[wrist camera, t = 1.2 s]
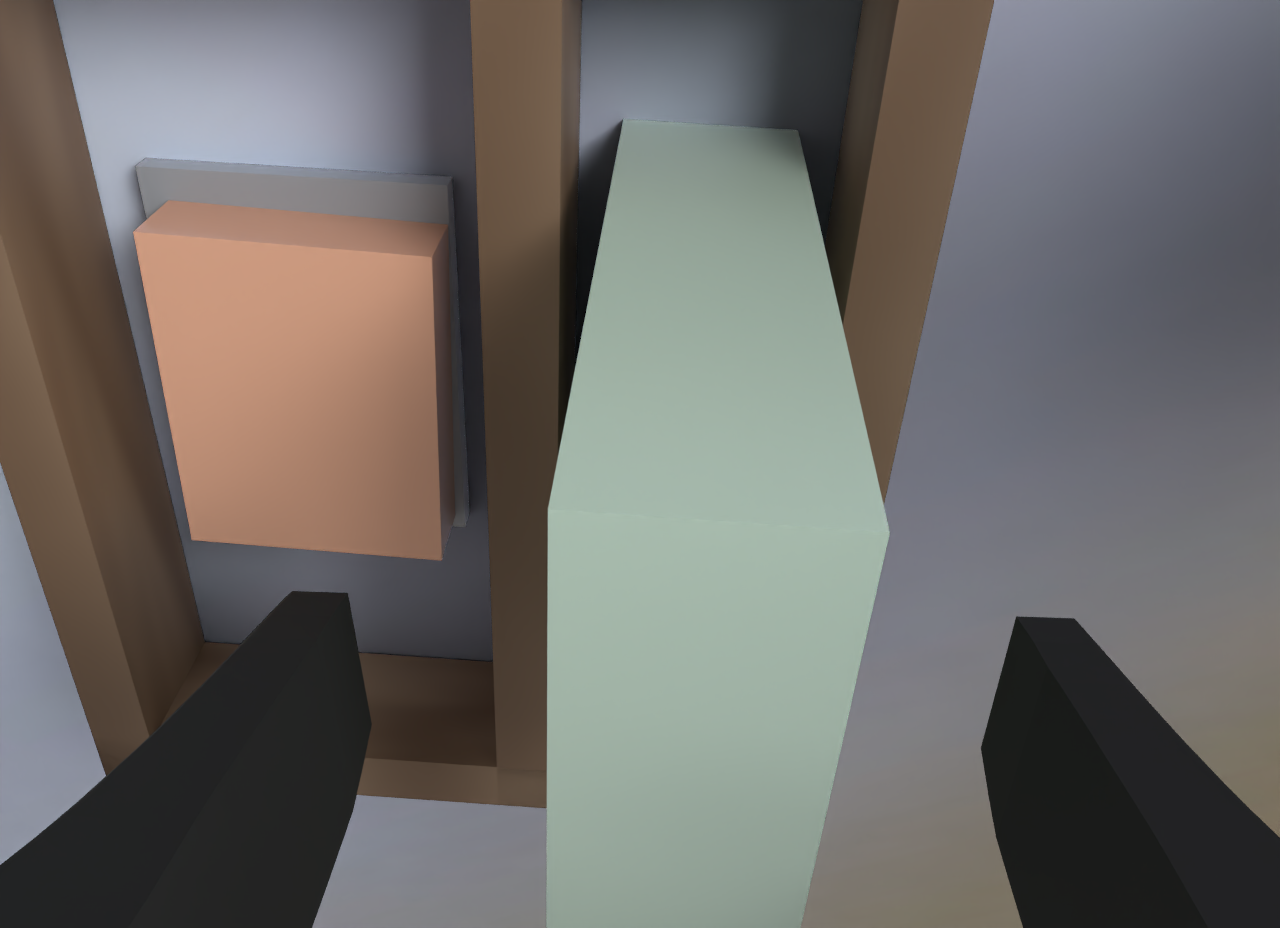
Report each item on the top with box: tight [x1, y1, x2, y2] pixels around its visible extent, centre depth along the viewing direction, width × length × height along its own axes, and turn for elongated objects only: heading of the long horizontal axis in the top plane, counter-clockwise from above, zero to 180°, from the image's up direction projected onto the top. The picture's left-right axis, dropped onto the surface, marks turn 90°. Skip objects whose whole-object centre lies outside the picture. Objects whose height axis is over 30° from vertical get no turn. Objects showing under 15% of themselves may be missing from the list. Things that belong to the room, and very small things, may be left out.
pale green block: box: [546, 119, 890, 928], centre depth 14 cm, size 2×8×9 cm, turn 177°
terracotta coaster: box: [133, 200, 455, 561], centre depth 17 cm, size 4×5×1 cm
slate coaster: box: [135, 158, 470, 527], centre depth 18 cm, size 4×6×1 cm
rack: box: [0, 0, 994, 808], centre depth 16 cm, size 13×15×2 cm
